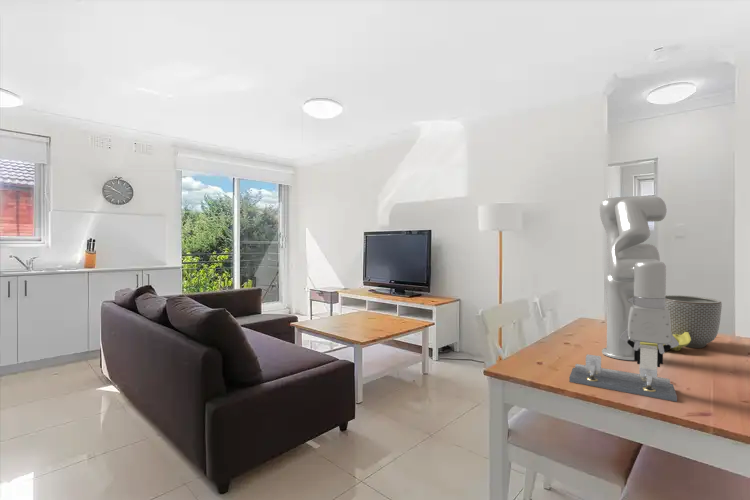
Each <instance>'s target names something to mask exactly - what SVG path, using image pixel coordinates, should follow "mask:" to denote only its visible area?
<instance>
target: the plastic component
mask: <svg viewBox="0 0 750 500" xmlns="http://www.w3.org/2000/svg"><path fill="white" fill-rule="evenodd" d="M672 335H673V336H674V337H675V339H676V340H677V341H678V343H679V345H678V346H676V347H673V348H671V349H670V350H673V351H677V352H678V351H681V350H682V348H684V347H685V346H687V345H688V344H689V343H690V341H691V337H690V335H689V333H688V332H684V333H683V334H682V335H678V334H675V335H674V334H672ZM640 344H641V345H649V346H656V347H657V350H658V345H657V344H655V343H647V342H640ZM664 345H665V344H663V346H664ZM685 348H686V347H685Z"/></svg>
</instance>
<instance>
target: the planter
mask: <svg viewBox="0 0 750 500" xmlns="http://www.w3.org/2000/svg"><path fill="white" fill-rule="evenodd" d="M722 304H723V303H722V301H721V300H719V299H715V298H710V297H704V296H703V297H702V296H693V295H678V294H677V295H676V294H675V295H668V294H667V295H666V299H665V308H667V309H668V310H669V313H670V320H671V334H674V335H675V334H678V335H682V334H683V333H684V332H688V333H689V335H690V337H691V341H690V343H689V344H688V345H687V346H685V348H692V349H702V348H705V347H706V346H707V344H709V343H712V342H713V341H714V340H716V338H717V336H718V333H719V329H720V324H721V314H722V309H723V308H722V307H723V306H722Z"/></svg>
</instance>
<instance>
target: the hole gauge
mask: <svg viewBox="0 0 750 500" xmlns="http://www.w3.org/2000/svg"><path fill="white" fill-rule="evenodd" d="M568 382H570V383H575V384H580V385H584V386H590V387H595V388H600V389H607V390H610V391H611V390H612V391H618V392H622V393H628V394H632V395H633V394H634V395H638V394H639V396H643V395H644V396H643V397H648V396H649V398H655V399H660V400H665V401H671V402H676V403H677V402H678V395H677V393H676V390H675V387H674V384H673V383H671V380H670V378H665V377H661V376H659V377H658V376H657V379H656V378H652V388H647V387H646V382H647V378H646V377H643V376H640V373H634V372H629V371H622V370H616V369H611V368H603V367H602V356H600V355H593V354H588V353H587V354H586V356H585V364H579V363H575V365H574V367H572V370H571V372H570V374H569V381H568Z"/></svg>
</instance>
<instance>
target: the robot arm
mask: <svg viewBox="0 0 750 500" xmlns="http://www.w3.org/2000/svg"><path fill="white" fill-rule="evenodd" d="M599 205H600V206H599V217H600V220H601V224H602V225H603V228H604V230H605V233H606V244H607V263H608V264H607V265H608V271H609V274H607V275H606V276H605V278H604V289H605V295H606V314H607V315H606V347H604V348H602V349H601V353H602V354H603V355H604V356H606V357H609V358H613V359H615V360H623V361H636V365H640V342H647V343H655V344H657V345H658V350H657V368H661V365H663V364H664V354H665V353H667V352H668V351H669V350H672V349H671V348H673V347H676V346H678V345H679V343H678V341H677V340H676V339H675V337H674V336H673V335H672V334H671V320H670V313H669V310H668V309H667V308H665V299H666V294H667V293H666V289H667V287H666V286H667V285H666V284H667V266H666V264H665V263H664V262H662V261H661V258H660V251H659V249H658V248H657V247H656V246H655V245H653V244H650V243H644V242H646V241H647V240H648V239H649V238H650V236H651V230H650V226H649V222H651V223H652V222H661V221H663V220H665V218H666V215H667V204H666V202H665V200H664V199H662V197H658V196H654V195H639V196H638V195H637V196H615V197H608V198H606V199H603V200H602V201H601V203H600V204H599ZM663 344H665V345H664V346H663Z"/></svg>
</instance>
